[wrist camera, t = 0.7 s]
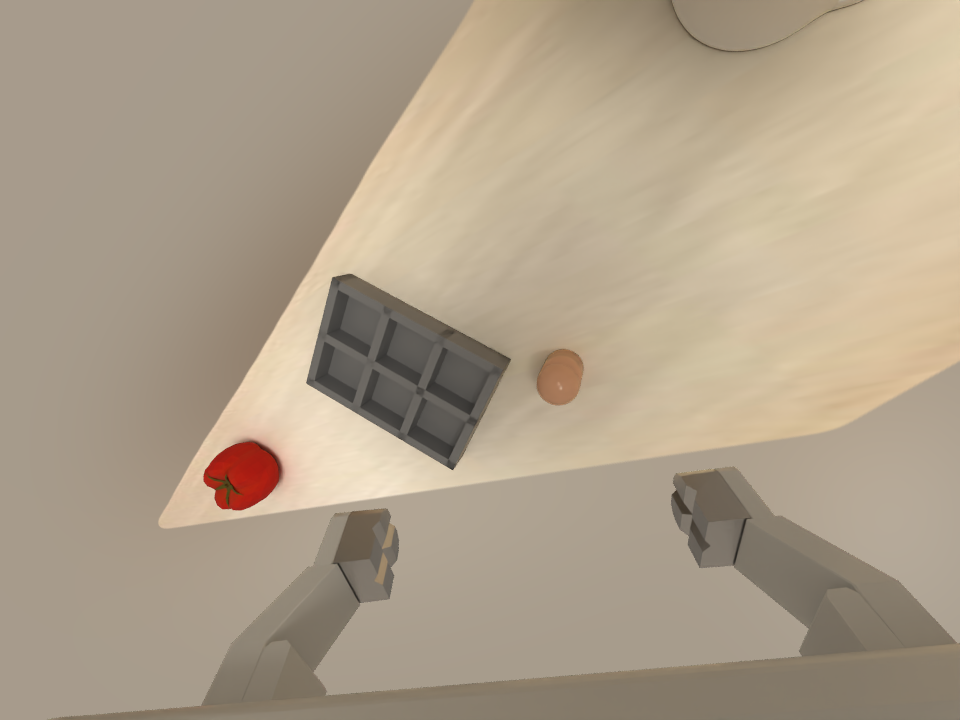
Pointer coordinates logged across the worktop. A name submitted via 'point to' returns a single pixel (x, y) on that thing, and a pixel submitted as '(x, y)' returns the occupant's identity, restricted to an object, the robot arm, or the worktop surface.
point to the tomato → (242, 476)
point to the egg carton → (403, 369)
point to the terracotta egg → (560, 377)
